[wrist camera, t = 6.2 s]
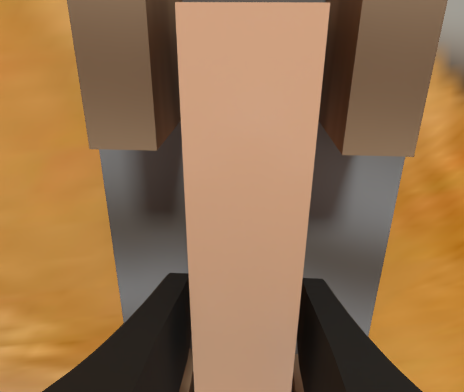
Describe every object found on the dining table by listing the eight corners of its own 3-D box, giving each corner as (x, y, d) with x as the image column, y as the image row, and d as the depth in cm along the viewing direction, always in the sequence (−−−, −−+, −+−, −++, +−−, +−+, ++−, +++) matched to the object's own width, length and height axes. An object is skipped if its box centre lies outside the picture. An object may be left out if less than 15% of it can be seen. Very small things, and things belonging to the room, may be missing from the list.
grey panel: (343, 415, 19) (372, 541, 14) (143, 404, 19) (108, 522, 14) (436, -71, 10) (578, -148, 6) (82, -71, 11) (-43, -141, 6)
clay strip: (270, 403, 17) (275, 540, 13) (215, 401, 17) (201, 535, 13) (297, 13, 11) (329, 2, 6) (208, 12, 11) (174, 1, 6)
